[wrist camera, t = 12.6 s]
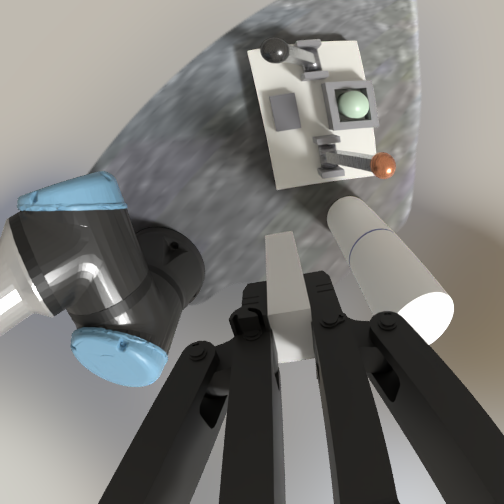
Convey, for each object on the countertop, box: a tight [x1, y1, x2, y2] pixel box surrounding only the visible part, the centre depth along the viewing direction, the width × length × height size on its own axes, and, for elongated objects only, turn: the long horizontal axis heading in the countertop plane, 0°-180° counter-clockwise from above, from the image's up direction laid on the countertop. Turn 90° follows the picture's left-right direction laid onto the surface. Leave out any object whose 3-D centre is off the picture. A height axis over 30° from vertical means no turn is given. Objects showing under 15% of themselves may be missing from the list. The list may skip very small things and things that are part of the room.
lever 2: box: [318, 143, 396, 179], centre depth 30 cm, size 3×3×13 cm
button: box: [336, 91, 369, 118], centre depth 30 cm, size 4×4×3 cm
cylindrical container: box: [327, 196, 454, 345], centre depth 31 cm, size 7×7×25 cm
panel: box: [247, 39, 379, 190], centre depth 32 cm, size 15×20×6 cm
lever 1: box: [260, 38, 322, 73], centre depth 25 cm, size 3×3×13 cm
